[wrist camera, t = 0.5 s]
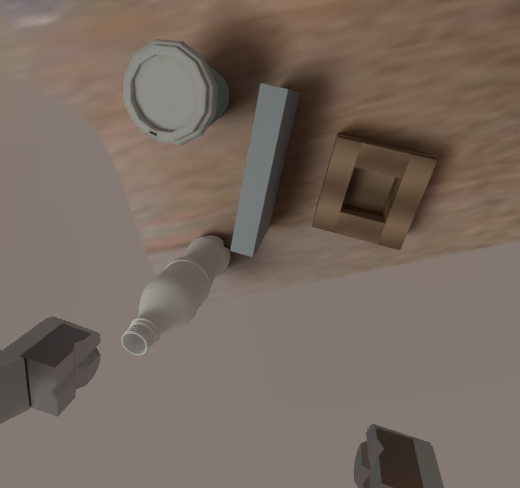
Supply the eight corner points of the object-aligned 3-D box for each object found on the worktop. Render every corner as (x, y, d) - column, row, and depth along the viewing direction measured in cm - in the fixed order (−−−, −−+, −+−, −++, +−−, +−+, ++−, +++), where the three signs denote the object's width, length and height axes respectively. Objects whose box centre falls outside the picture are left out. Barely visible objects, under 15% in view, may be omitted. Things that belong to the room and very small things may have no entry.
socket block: (337, 132, 47) (337, 137, 42) (426, 153, 46) (437, 160, 40) (314, 213, 52) (311, 226, 47) (393, 234, 51) (400, 250, 45)
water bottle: (242, 257, 58) (179, 357, 35) (210, 275, 61) (133, 379, 38) (217, 223, 56) (135, 304, 34) (186, 243, 59) (90, 330, 37)
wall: (279, 87, 47) (260, 83, 36) (300, 92, 46) (288, 89, 35) (252, 221, 55) (230, 250, 44) (269, 226, 55) (252, 257, 44)
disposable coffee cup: (186, 41, 47) (124, 17, 33) (257, 71, 47) (223, 59, 33) (168, 117, 52) (107, 123, 38) (233, 146, 51) (194, 162, 38)
